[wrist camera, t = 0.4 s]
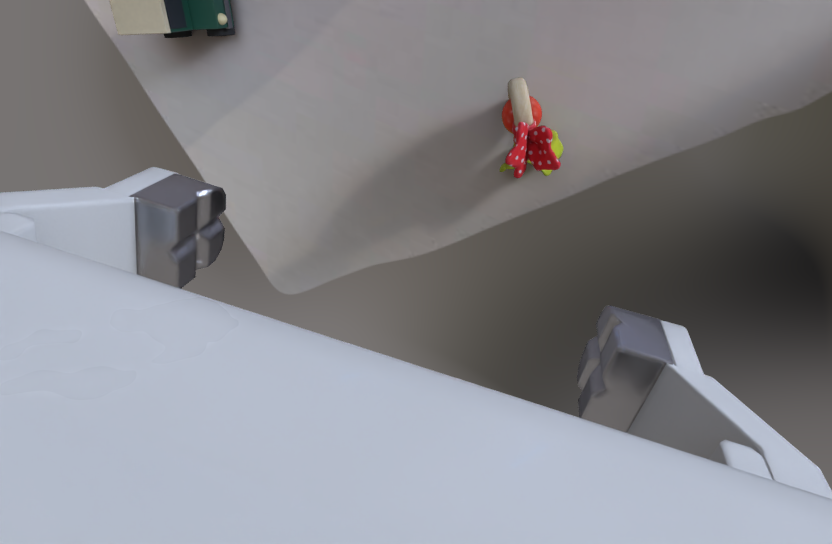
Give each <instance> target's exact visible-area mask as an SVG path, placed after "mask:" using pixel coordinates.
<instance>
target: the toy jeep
mask: <svg viewBox="0 0 832 544" xmlns="http://www.w3.org/2000/svg"><path fill="white" fill-rule="evenodd" d="M109 1H110V5H111V9H112V12H113V16H114V20H115V24H116V28H117V31H118V35H136V34H162V33H164V36H165V38H177V37H188V36H192V32H191V30H202V29H206V30H207V35H208V36H226V35H234V34H235V31H234V22H233V17H232V11H231V5H230V0H109Z"/></svg>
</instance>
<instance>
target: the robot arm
mask: <svg viewBox="0 0 832 544" xmlns="http://www.w3.org/2000/svg"><path fill="white" fill-rule="evenodd" d="M225 210H226V194H225V192H224V190H223V189H222V188H220V187H217V186H214V185H211V184H208V183H205V182H202V181H198V180H195V179H192V178H189V177H186V176H183V175H179V174H178V173H175V172H171V171H168V170H164V169H160V168H156V167H151V168H149V169H147V170H144V171H142V172H140V173H138V174H135V175H133V176H131V177H129V178H126V179H124V180H122V181H120V182H117V183H115V184H113V185H111V186H108V187H106V188H104V189H103V188H100V187H81V188H66V189H49V190H35V191H17V192H2V193H0V544H832V491H831V489H830V487H829V485H828V483H827V481H826V479H825V478H824V476H823V474H822V472H821V470H820V468H819V467H817V466H816V465H815V464H814V463H813V462H811V461H810V460H809V459H808V458H807V457H806V456H804V455H803V454H802V453H801V452H800V451H798V450H797V449H796V448H795V447H794V446H793V445H791V444H790V443H789V442H788V441H787V440H785V439H784V438H783V437H782V436H781V435H780V434H778V433H777V432H776V431H775V430H774V429H772V428H771V427H770V426H769V425H768V424H767V423H766V422H764V421H763V420H762V419H761V418H760V417H758V416H757V415H756V414H755V413H754V412H752V411H751V410H750V409H749V408H748V407H747V406H745V405H744V404H743V403H742V402H741V401H739V400H738V399H737V398H736V397H735V396H734V395H733V394H731V393H730V392H729V391H728V390H727V389H725V388H724V387H723V386H722V385H721V384H719V383H718V382H717V381H716V380H715V379H714V378H713V377H710V376H707V375H704V374H703V371H702V368H701V366H700V363H699V360H698V358H697V355H696V353H695V350H694V347H693V345H692V342H691V339H690V337H689V334H688V332H687V329H686V328H684V327H683V326H680V325H677V324H673V323H669V322H665V321H661V320H660V319H657V318H653V317H649V316H646V315H642V314H638V313H635V312H632V311H628V310H624V309H621V308H617V307H614V306H606V307H605V308H604V310H603V311H602V312H601V314H600V316H599V318H598V321H597V323H596V324H597V336H596V337H594V338H593V339H591V340H589V341H588V342H587V344H586V347H585V349H584V351H583V354H582V357H581V360H580V364H579V368H578V375H577V381H578V386H579V387H580V388H581V390H582V393H581V395H580V398H579V399H578V402H579V417H575V416H572V415H569V414H566V413H563V412H560V411H557V410H554V409H551V408H548V407H545V406H541V405H538V404H535V403H532V402H529V401H526V400H523V399H520V398H516V397H514V396H510V395H507V394H504V393H501V392H498V391H495V390H492V389H489V388H486V387H483V386H479V385H476V384H473V383H470V382H467V381H464V380H461V379H458V378H455V377H452V376H448V375H445V374H442V373H439V372H436V371H433V370H430V369H427V368H424V367H420V366H417V365H414V364H411V363H408V362H405V361H402V360H399V359H396V358H393V357H390V356H387V355H383V354H380V353H377V352H374V351H371V350H368V349H365V348H362V347H359V346H355V345H352V344H349V343H346V342H343V341H340V340H337V339H334V338H331V337H328V336H324V335H322V334H318V333H315V332H312V331H309V330H306V329H303V328H300V327H297V326H294V325H291V324H288V323H285V322H282V321H278V320H275V319H272V318H269V317H266V316H263V315H260V314H257V313H254V312H251V311H247V310H244V309H241V308H238V307H235V306H232V305H229V304H226V303H223V302H220V301H217V300H214V299H210V298H208V297H204V296H201V295H198V294H195V293H192V292H189V291H186V290H183V289H181V288H182V287H184V286H185V285H186V284H187V283H189V282H190V281H191V280H192V279H193V278H195V274H196V272H195V271H196V270H197V269H201V268H206V267H208V266H209V265H211V264H212V263H213V262H214V261H215V260H216V258H217V256H218V255H219V253H220V251H221V248H222V245H223V241H224V231H225V228H224V226H223V224H222V223H221V221H220V219H219V216H220V215H221V214H222V213H223V212H224V211H225Z"/></svg>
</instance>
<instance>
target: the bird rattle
mask: <svg viewBox="0 0 832 544" xmlns="http://www.w3.org/2000/svg"><path fill="white" fill-rule="evenodd" d="M508 96H509V100H508V101H507V103H506V104H505V106H504V107H503V111H502V121H503V124H504V126H505V128H506V129H507V130H508V131H509V132H511V133H512V134H514V147H513V148H512V150H511V151H510V152H509V153H508V155H507V157H506V160H505V163H504V164H502V165H501V167H500V172H504V171H505V170H506V169H515V170H514V177H515V178H520V177H521V176H522V175H523V173H524V172H525V170H526V165H527V163H530V164H532V165H533V166H534V168H535V169H536V170H537V171H540V170H541V171H542V172H543V174H544V175H545V176H548V175H550V174H551V172H552V170H556V169H559V167H560V165H561V164H560V162H559V160H558V159H559V158H560V157H561V155H562V152H563V146H562V144H561V142H560V141H559V139H558V133H557V132H555V131H554V130H551V129H550V128H548V127H546V126H539V127H537V126H538V125H539V123H540V120H541V117H542V111H541V107H540V105H539V103H538V102H537V100H536V99H534V98H533V97H531V96H529V92H528V88H527V85H526V82H525V80H524V79H523V78H514V79H511V80H510V81H509V82H508Z"/></svg>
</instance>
